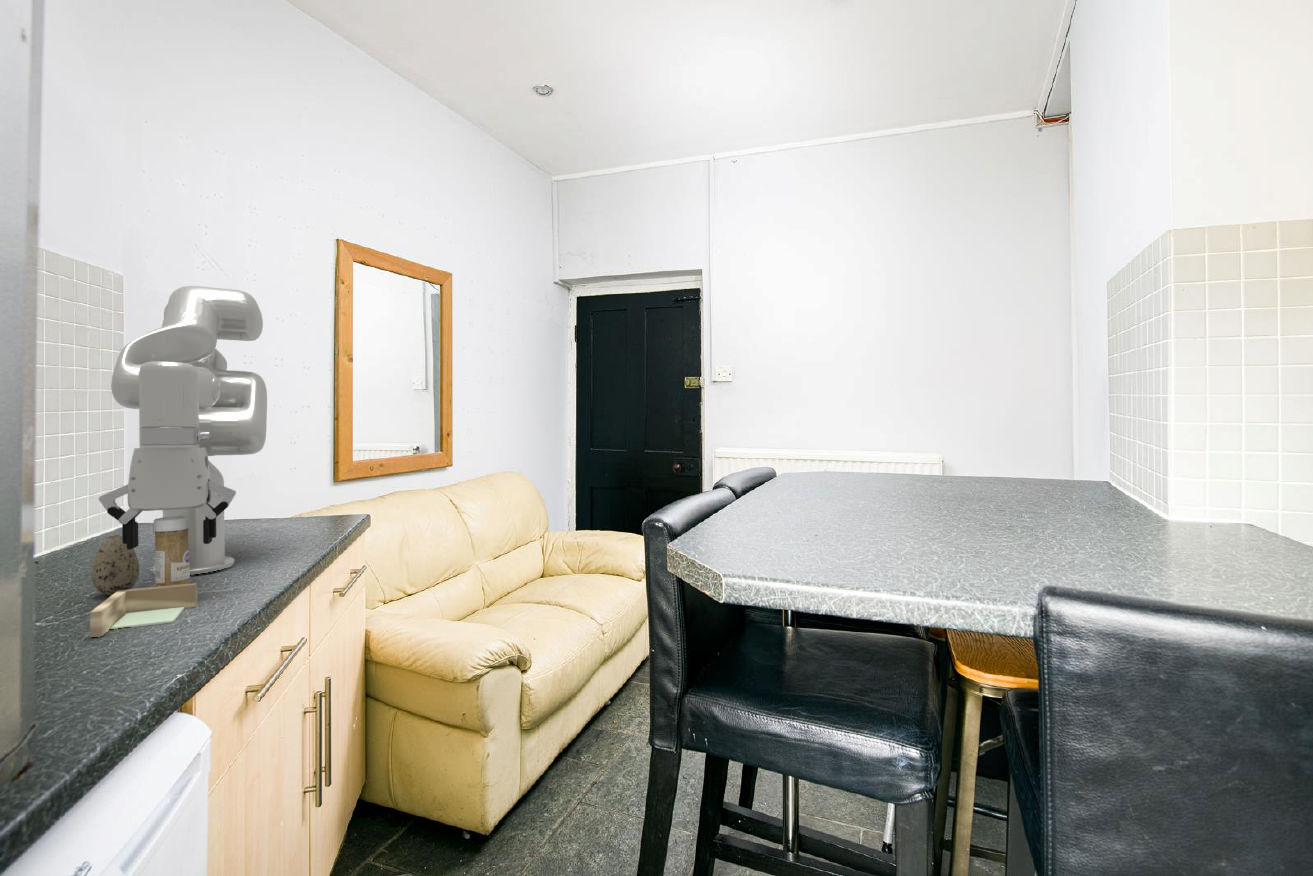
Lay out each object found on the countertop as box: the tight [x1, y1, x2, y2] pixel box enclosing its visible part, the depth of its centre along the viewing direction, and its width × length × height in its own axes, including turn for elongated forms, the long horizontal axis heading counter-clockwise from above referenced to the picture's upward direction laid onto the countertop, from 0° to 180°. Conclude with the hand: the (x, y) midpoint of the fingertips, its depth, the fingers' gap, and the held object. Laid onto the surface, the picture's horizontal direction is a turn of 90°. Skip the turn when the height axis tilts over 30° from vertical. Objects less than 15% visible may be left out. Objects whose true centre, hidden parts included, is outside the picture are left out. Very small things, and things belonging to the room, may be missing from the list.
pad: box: [110, 607, 186, 630], centre depth 89 cm, size 7×7×1 cm
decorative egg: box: [91, 534, 140, 596], centre depth 101 cm, size 6×6×10 cm
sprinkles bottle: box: [152, 516, 191, 587], centre depth 98 cm, size 5×5×13 cm
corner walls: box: [89, 582, 198, 638], centre depth 89 cm, size 12×10×4 cm
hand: (171, 545), depth 97 cm, fingers open, 9 cm apart
